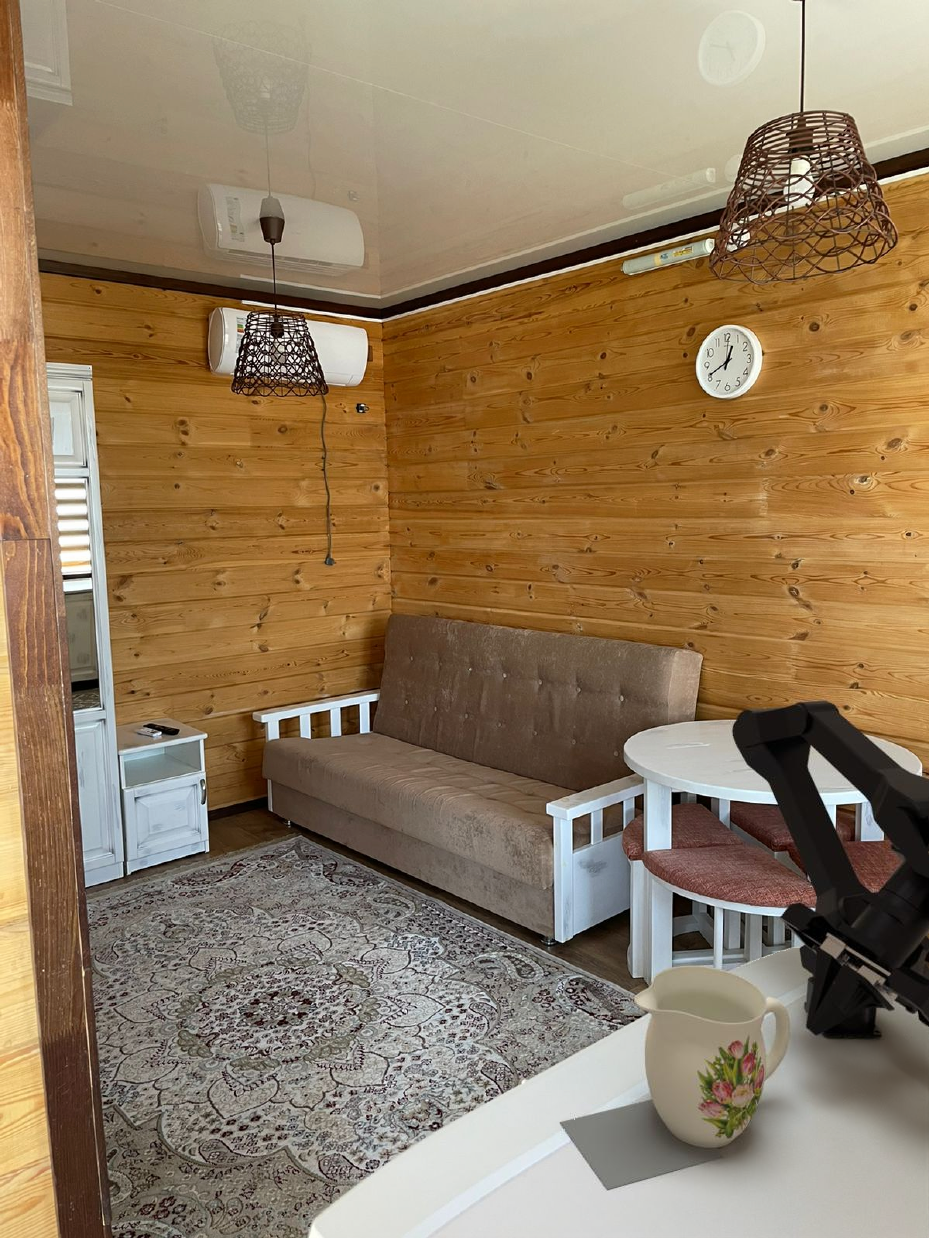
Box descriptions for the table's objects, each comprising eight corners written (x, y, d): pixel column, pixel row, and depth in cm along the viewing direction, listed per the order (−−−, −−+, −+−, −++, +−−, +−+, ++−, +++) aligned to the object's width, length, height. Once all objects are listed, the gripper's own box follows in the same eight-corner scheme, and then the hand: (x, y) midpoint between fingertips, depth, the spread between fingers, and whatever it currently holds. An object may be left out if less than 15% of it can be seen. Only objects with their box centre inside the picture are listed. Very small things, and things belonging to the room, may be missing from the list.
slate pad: (667, 1104, 91) (668, 1094, 91) (723, 1166, 83) (724, 1155, 83) (559, 1131, 87) (559, 1121, 87) (606, 1199, 78) (607, 1189, 78)
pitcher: (823, 1134, 86) (835, 996, 84) (664, 1186, 79) (674, 1036, 77) (744, 1067, 96) (753, 942, 94) (596, 1108, 89) (603, 973, 87)
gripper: (1025, 998, 87) (927, 1132, 84) (874, 913, 104) (789, 1023, 102) (971, 933, 83) (867, 1071, 81) (823, 856, 100) (733, 968, 98)
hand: (810, 1031), depth 90 cm, fingers closed
